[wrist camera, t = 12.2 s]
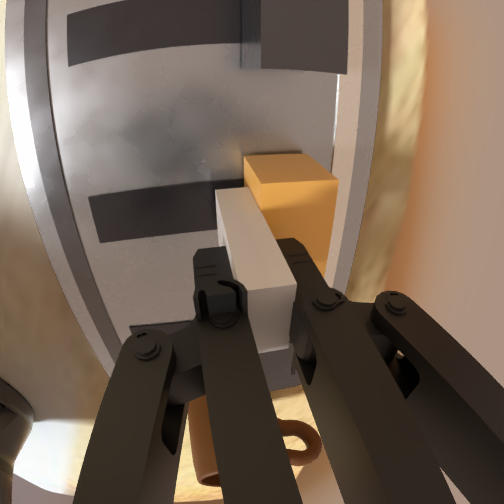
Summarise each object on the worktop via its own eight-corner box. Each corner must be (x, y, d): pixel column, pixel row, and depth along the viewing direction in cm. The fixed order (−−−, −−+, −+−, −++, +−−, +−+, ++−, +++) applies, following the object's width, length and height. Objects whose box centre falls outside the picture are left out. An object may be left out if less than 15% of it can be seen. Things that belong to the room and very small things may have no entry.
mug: (310, 363, 28) (343, 447, 20) (292, 400, 32) (315, 471, 25) (184, 374, 25) (195, 472, 18) (186, 410, 29) (197, 489, 22)
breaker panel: (113, 361, 23) (108, 421, 18) (26, -17, 7) (-32, -35, 2) (320, 335, 26) (345, 389, 21) (361, -37, 10) (427, -59, 5)
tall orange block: (244, 248, 16) (259, 292, 13) (243, 155, 13) (261, 184, 10) (299, 242, 17) (323, 283, 14) (306, 153, 14) (339, 180, 11)
